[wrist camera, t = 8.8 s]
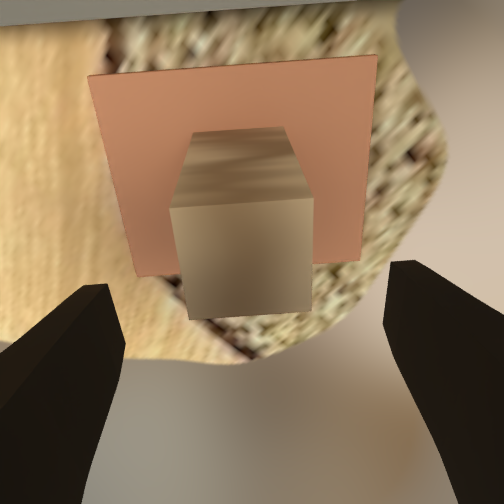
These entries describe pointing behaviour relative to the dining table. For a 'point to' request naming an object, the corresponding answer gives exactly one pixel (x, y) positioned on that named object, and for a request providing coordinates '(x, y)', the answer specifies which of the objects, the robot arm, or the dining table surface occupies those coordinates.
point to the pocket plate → (120, 8)
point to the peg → (243, 225)
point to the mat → (231, 118)
